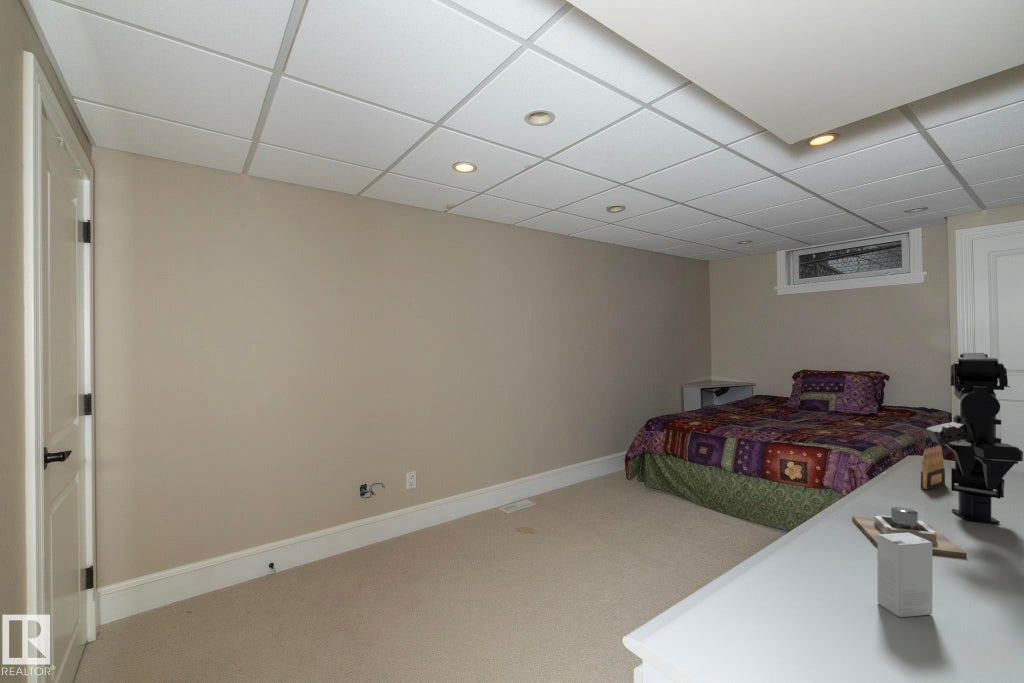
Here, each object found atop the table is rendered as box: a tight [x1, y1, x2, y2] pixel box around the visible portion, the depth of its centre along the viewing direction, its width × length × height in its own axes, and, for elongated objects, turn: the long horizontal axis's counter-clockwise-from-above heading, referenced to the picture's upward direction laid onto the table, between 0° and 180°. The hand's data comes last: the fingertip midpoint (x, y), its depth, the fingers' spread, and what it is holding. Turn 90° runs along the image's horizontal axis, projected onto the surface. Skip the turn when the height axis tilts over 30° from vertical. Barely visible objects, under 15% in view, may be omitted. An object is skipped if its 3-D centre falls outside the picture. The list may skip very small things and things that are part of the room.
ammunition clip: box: [920, 444, 946, 491], centre depth 134 cm, size 11×2×12 cm, turn 117°
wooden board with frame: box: [851, 513, 968, 559], centre depth 101 cm, size 15×15×3 cm
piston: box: [890, 506, 919, 531], centre depth 101 cm, size 4×4×5 cm
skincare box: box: [876, 533, 933, 618], centre depth 75 cm, size 6×4×12 cm
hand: (977, 481), depth 102 cm, fingers open, 9 cm apart
